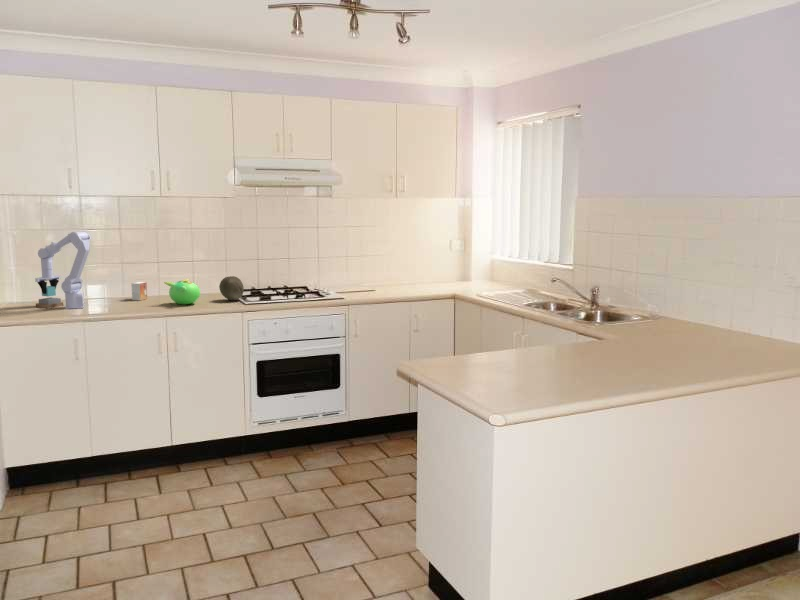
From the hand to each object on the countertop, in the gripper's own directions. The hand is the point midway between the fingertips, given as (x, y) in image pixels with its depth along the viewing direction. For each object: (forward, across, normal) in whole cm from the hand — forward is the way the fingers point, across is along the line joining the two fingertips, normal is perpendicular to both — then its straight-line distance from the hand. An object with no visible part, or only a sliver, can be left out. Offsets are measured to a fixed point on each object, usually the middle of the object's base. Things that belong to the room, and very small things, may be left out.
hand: (48, 293), depth 389 cm
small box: (+8, -42, +26) cm, 50 cm away
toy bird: (+8, -42, +62) cm, 75 cm away
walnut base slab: (+8, 0, 0) cm, 8 cm away
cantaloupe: (+8, -66, +77) cm, 102 cm away
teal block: (+2, 0, 0) cm, 2 cm away
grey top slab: (+6, 0, 0) cm, 6 cm away
